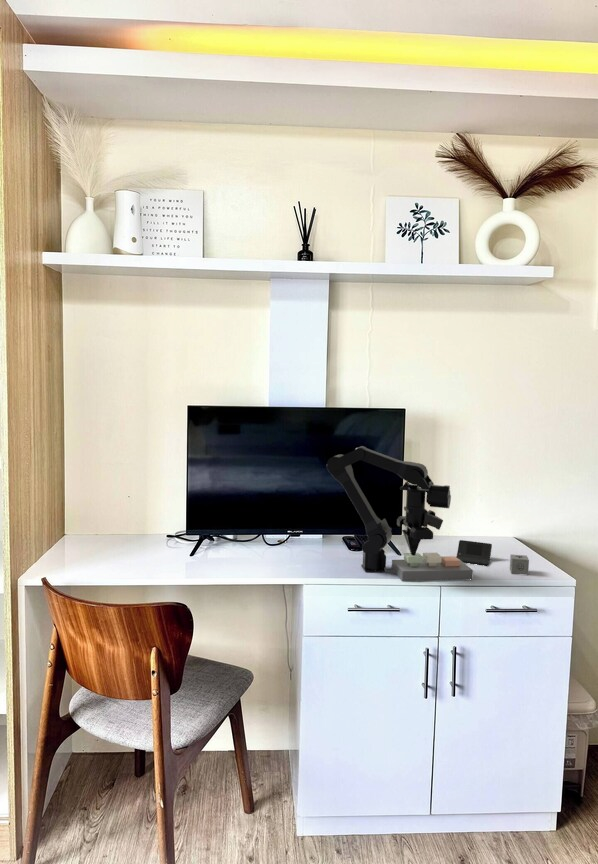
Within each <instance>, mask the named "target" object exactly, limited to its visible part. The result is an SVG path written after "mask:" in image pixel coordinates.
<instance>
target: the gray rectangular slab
mask: <svg viewBox="0 0 598 864" xmlns="http://www.w3.org/2000/svg"><path fill="white" fill-rule="evenodd" d="M459 560H460V559H459ZM391 570H392V571H393V572H394V573H395V575H396V576H397V575H398V576H397V577H398V578H399V579H400V581H402V582H413V581H414V582H415V581H417V582H421V581H427V582H428V581H468V580H469V581H472V580H473V575H474V574H473V573H474V572H473V571H474V570H473V568H471V567H470V566H468V565H467V563H463V562H462V561H461V560H460V566H445V565H443V564H442V563H437V566H428V565H427V562H426V561H425V560H424V559H423V563H418V567H409V566H408V562H407V561H406V560H405V559H404V558H403V559H391ZM470 579H471V580H470Z"/></svg>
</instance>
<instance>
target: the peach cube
mask: <svg viewBox="0 0 598 864" xmlns="http://www.w3.org/2000/svg"><path fill="white" fill-rule="evenodd" d="M440 556H441V555H440ZM441 557H442V561H441V563H442V564H443V565H445V566H460V560H459V559H458V558H457V557H456V556H454V555H450V556H447V555H446V556H445V555H444V556H441Z"/></svg>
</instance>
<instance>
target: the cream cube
mask: <svg viewBox="0 0 598 864" xmlns="http://www.w3.org/2000/svg"><path fill="white" fill-rule="evenodd" d="M421 556H422V557H423V559H424V560H425V561H426V562H427V565H428V566H437V563H441V561H442V557H441V555H440V554H439V553H438V552H422V555H421Z"/></svg>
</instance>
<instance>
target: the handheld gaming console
mask: <svg viewBox="0 0 598 864" xmlns="http://www.w3.org/2000/svg"><path fill="white" fill-rule="evenodd" d="M492 547H493V545H492V543H490V542H489V543H488V542H487V543H486V542H482V541H481V542H480V541H472V540H471V541H470V540H462V539H460V540H459V541H458V546H457V553H456V556H455V557H457V558H458V559H460V560H461V561H462V562H463V563H465V564H467V563H470V564H469V565H474V564H477V565H476V566H483V565H484V566H485V567H488V566H487V565H489V564H490V561H491V554H492Z"/></svg>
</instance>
